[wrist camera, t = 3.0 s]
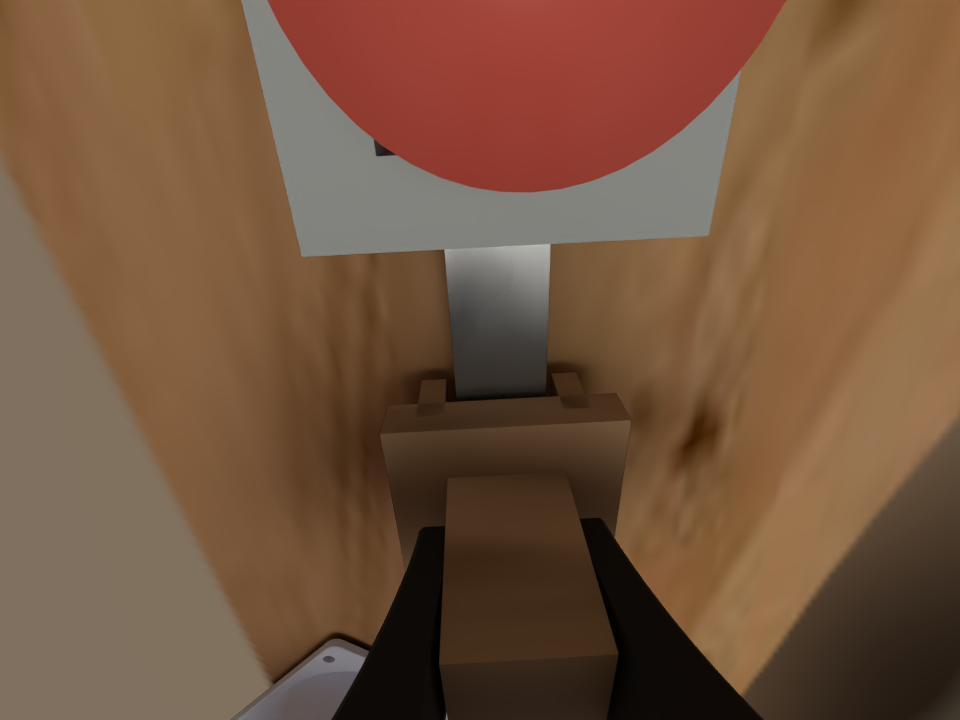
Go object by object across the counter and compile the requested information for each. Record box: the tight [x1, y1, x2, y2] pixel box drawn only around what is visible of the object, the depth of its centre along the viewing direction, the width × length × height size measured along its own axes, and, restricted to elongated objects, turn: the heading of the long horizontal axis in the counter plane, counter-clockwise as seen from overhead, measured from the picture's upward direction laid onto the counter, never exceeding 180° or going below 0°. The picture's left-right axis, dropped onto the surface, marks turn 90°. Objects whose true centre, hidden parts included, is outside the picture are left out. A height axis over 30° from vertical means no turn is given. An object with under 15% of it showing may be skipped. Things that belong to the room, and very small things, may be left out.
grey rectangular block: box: [242, 0, 742, 257], centre depth 8 cm, size 7×7×4 cm
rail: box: [444, 244, 550, 402], centre depth 14 cm, size 16×4×2 cm, turn 2°
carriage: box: [380, 372, 631, 720], centre depth 11 cm, size 6×6×7 cm
